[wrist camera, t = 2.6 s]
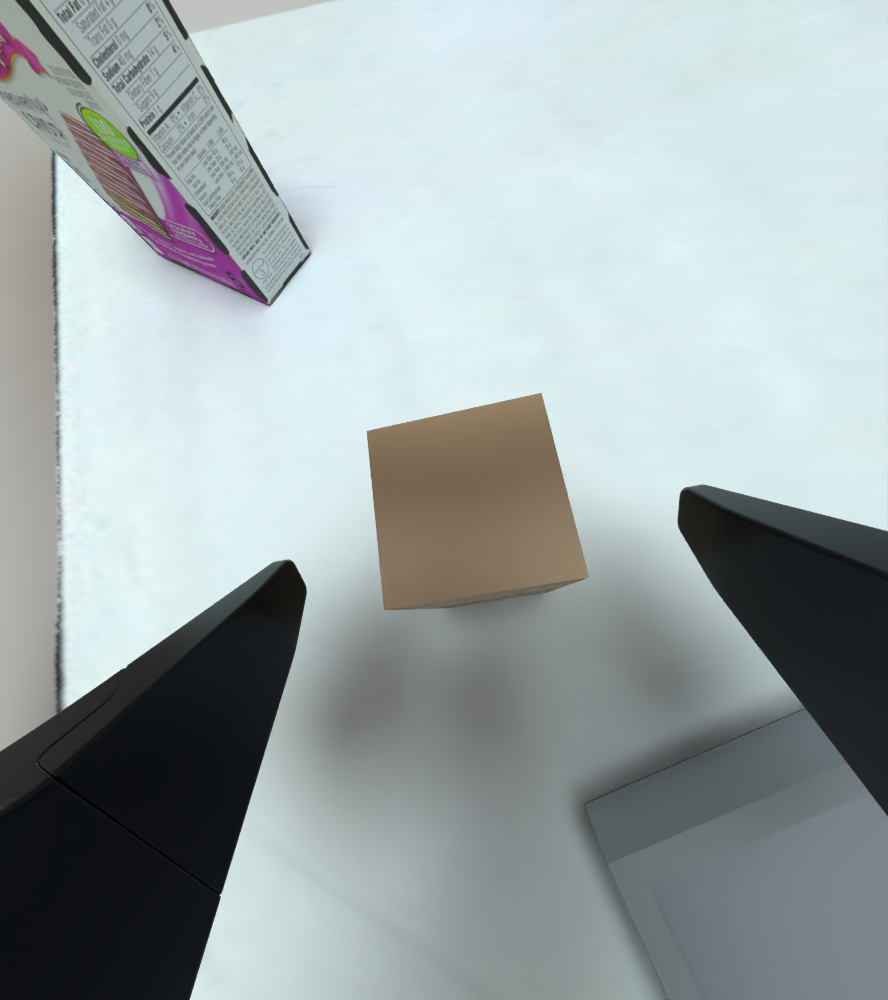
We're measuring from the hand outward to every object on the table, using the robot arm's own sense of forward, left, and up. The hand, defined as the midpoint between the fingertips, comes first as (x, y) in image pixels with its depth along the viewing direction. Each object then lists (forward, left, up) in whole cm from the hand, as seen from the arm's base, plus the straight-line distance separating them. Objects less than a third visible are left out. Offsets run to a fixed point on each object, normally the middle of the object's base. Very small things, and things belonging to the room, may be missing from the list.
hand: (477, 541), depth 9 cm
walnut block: (0, +1, -9) cm, 9 cm away
